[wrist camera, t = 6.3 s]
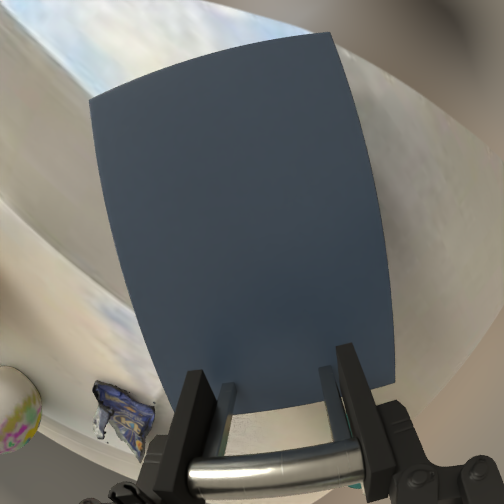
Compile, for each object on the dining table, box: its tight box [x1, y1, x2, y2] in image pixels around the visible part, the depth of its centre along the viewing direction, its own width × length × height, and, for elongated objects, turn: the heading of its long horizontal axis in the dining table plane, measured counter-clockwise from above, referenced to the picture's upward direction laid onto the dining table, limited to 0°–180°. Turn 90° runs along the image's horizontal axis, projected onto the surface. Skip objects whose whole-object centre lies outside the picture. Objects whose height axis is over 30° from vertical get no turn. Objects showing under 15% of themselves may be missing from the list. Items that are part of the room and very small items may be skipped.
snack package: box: [92, 380, 155, 463], centre depth 33 cm, size 12×6×12 cm
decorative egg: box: [0, 366, 42, 454], centre depth 29 cm, size 12×12×15 cm
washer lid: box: [89, 32, 395, 500], centre depth 11 cm, size 18×13×8 cm
